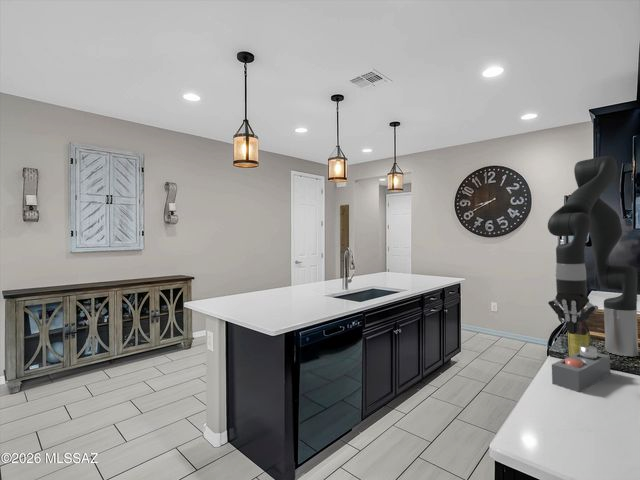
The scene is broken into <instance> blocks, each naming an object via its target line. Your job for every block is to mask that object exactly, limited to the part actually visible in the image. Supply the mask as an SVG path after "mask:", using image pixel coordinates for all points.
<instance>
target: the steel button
mask: <svg viewBox="0 0 640 480" xmlns="http://www.w3.org/2000/svg"><path fill="white" fill-rule="evenodd" d="M597 353H598V347H595V346H592V345H591V346H588V345H581V346H580V357H582V358H586V359H590V360H594V361H595V360H597Z"/></svg>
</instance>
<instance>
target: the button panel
mask: <svg viewBox="0 0 640 480" xmlns="http://www.w3.org/2000/svg"><path fill="white" fill-rule="evenodd" d="M567 358H573V359H578V360H581V361H583V367H581V368H578V367H574V366H570V365H567V364H565V359H567ZM610 375H611V355H610V354H609V355H608V354H603V353H599V352H597V360H595V361H594V360H590V359H586V358H582V357H580V352H579V353H576V354H574V355H572V356H569V355H568V356H567V357H565V358H563V359H561V360H558V361H556V362H554V363H552V364H551V377H552V378H551V380H552V381H551V382H552V383H551V384H552V385H555V386H559V387H562V388H565V389H567V390H568V389H569V390H571V391H573V392H576V393H580V392H582V391H585V389H587V388H588V387H591V386H592V385H594V384H596V383H598V382H599V381H602V379H605V378H606V377H608V376H610Z"/></svg>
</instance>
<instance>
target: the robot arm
mask: <svg viewBox="0 0 640 480" xmlns="http://www.w3.org/2000/svg"><path fill="white" fill-rule="evenodd" d="M573 171H574V172H573V173H574V178H575V182H576V184H577V185H576V186H577V188H576V189H575V190H574V191H573V192H571V194H570V195H569V197H568V199H566V202H565V204H564V205H562V206H561V207H560V208H558V209H557V210H555V212H554V213H552V215H551V216H550V217H549V219H548V222H547V230H548V231H549V234H551V235H553V236H555V237H572V240H571V241H570V242H568V243H567V242H566V243H562V244H558V245H557V246H556V247H555V257H556V266H555V283H556V295H555V298H554V299H552V300H550V301H548V305H549V306H550V308H551V309H552V310H553V311H554V313H555V314H556V315H557V316H558V318H559V319H563V320H565V321H566V330H567V332H568V331H569V333H570V334H577V333H578V332H579V331H580V328H579V322H582V321H587V320H588V319H589V318H590V317H591V316H592V315H593V314H595V312H596V311H597V310H599V306H598V305H594V304H592V302H590V299H589V297H588V285H587V283H588V282H587V280H588V279H587V268H586V262H585V261H586V259H585V250H586V244H587V243H586V242H587V238H588V236H589V238H590V240H591V244H592V250H593V254H594V263H595V271H596V272H595V273H596V278H597V282H598V285H599V286H600V287H601V289H602V288H603V289H605V290H614V291H622V294H620V295H619V296H614V297H608V298H605V299H604V300H603V315H604V316H603V317H604V345H605V346H604V349H605V350H606V351H607V352H609V353H612V354H618V355H624V356H638V357H639V335H638V332H639V331H638V309H637V308H638V306H637V305H638V271H637V269H636V268H635V267H634V266H633V265H632V266H631V265H619V264H617V265H615V264H613V265H612V264H610V262H609V261H610V256H611V253H612V251H613V250H614V248H615V247H616V245H617V244H618V242H620V239H621V237H622V236H623V228H622V223H621V218H620V215H619V214H618V212H617V211H616V210H615V209H614V208H613V207H611V206H610V205H609V204H608V203H606V201H604V200H603V199H601V197H600V196H602V194H603V193H604V192H605V191H606V190H607V189H608V188H609V186H610V185H611V184H612V183H613V182H614V181H615V179H616V178H617V175H618V164H617V161H616V159H615V158H614V157H613V156H610V155H609V156H608V155H605V156H599V157H594V158H588V159H584V160H579V161H578V162H576V163H575V165H574V169H573ZM583 308H584V309H585V310H586V311H584V314H583V315H582V316H581V317H580V314H581V310H582V309H583ZM606 351H605V352H606ZM607 352H606V353H607ZM609 353H608V354H609Z"/></svg>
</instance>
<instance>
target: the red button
mask: <svg viewBox="0 0 640 480" xmlns="http://www.w3.org/2000/svg"><path fill="white" fill-rule="evenodd" d="M566 358H567V357H566ZM564 359H565V358H564ZM565 364H567V365H570V366H574V367H578V368H581V367H583V361H581V360H578V359H573V358H567V359H565Z"/></svg>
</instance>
